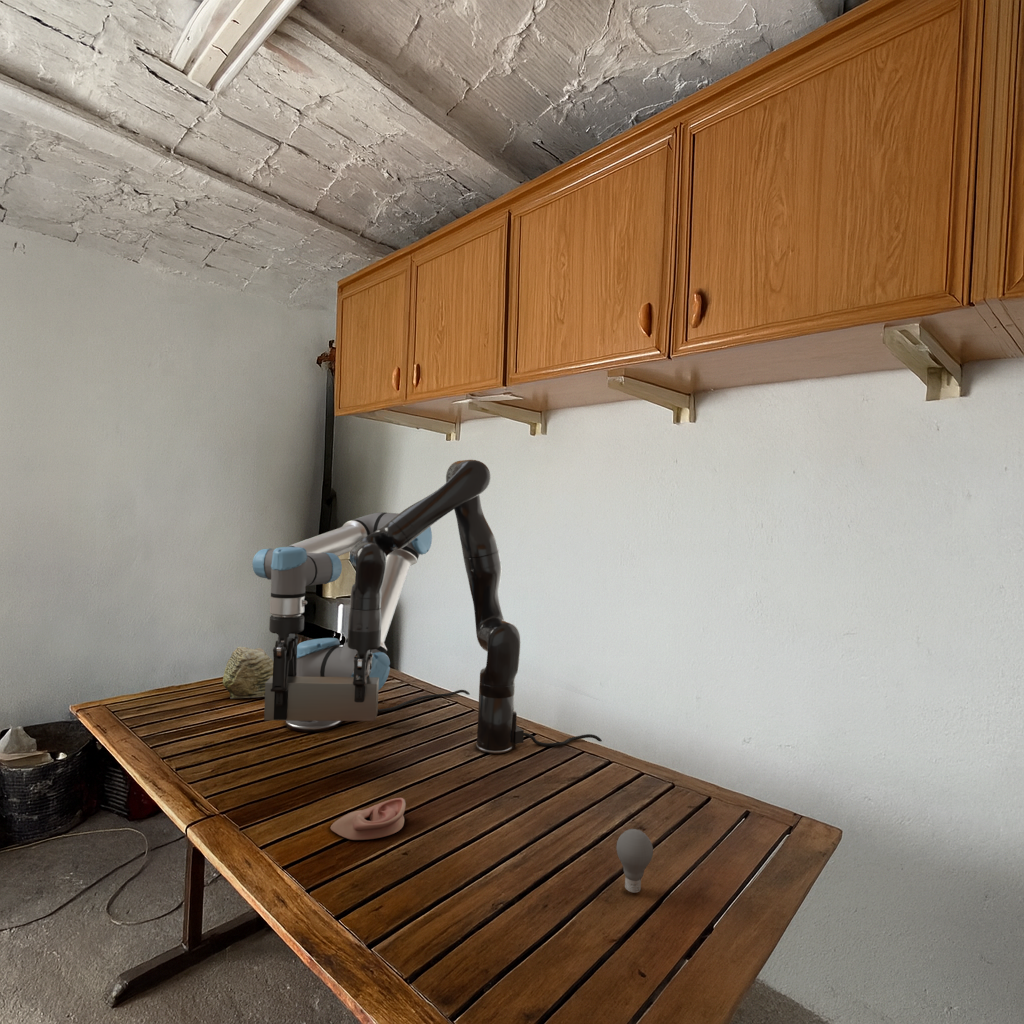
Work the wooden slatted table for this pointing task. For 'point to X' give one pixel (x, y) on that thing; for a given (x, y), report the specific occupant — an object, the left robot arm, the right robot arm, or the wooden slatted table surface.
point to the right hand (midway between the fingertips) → (361, 696)
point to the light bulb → (634, 857)
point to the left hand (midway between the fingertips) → (283, 714)
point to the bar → (325, 699)
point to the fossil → (247, 673)
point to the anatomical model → (372, 821)
